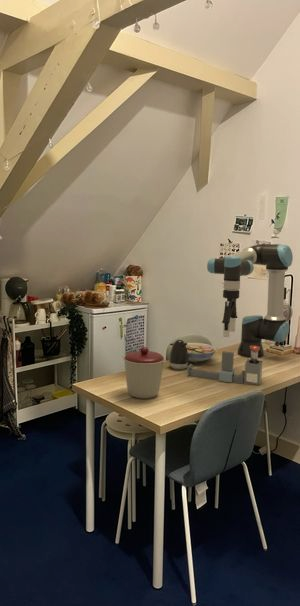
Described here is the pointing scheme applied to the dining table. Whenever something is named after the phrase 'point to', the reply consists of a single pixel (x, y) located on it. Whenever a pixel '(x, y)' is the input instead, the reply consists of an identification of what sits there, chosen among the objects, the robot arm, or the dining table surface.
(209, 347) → the ramen bowl
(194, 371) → the rail
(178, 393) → the dining table surface
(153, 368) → the canister
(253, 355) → the plunger
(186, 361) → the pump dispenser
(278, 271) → the robot arm
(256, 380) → the grey square housing
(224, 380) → the carriage
